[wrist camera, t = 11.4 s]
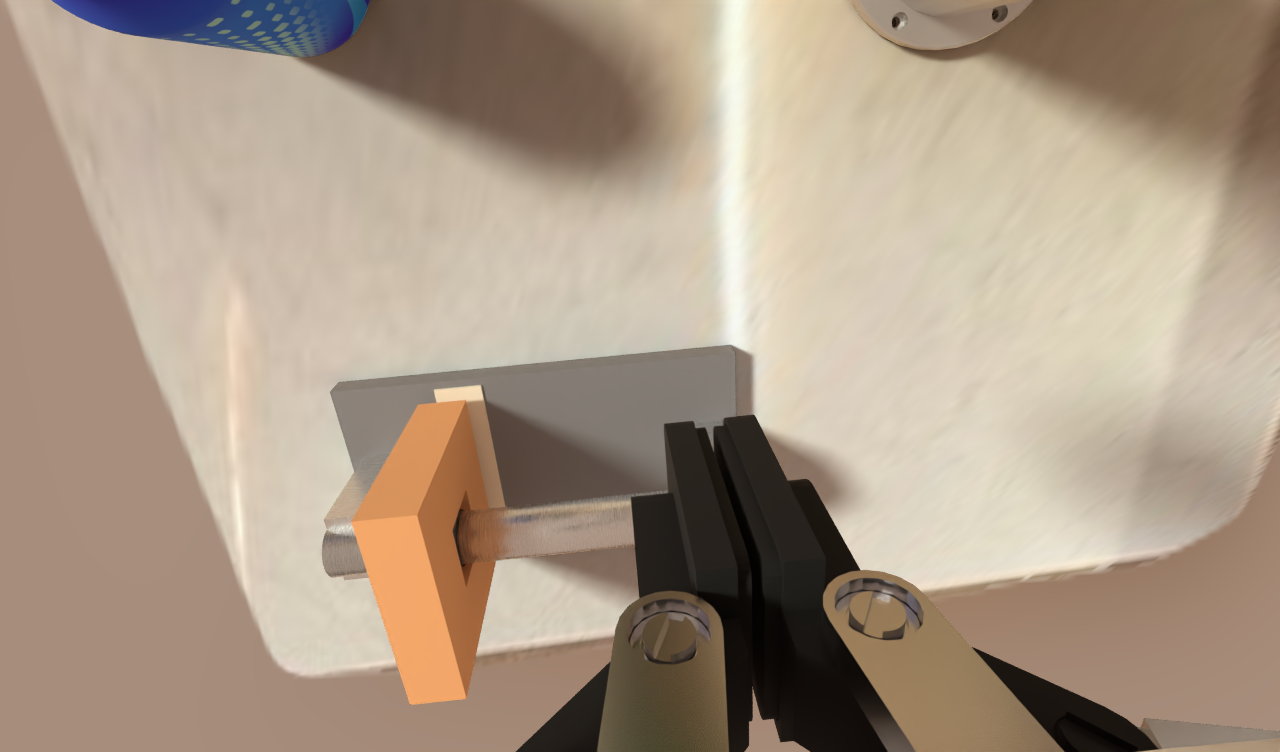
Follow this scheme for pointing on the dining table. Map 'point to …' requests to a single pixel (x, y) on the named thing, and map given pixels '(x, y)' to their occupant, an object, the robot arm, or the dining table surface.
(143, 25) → the beer can
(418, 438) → the collar
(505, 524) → the pipe
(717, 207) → the dining table surface
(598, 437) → the base board
